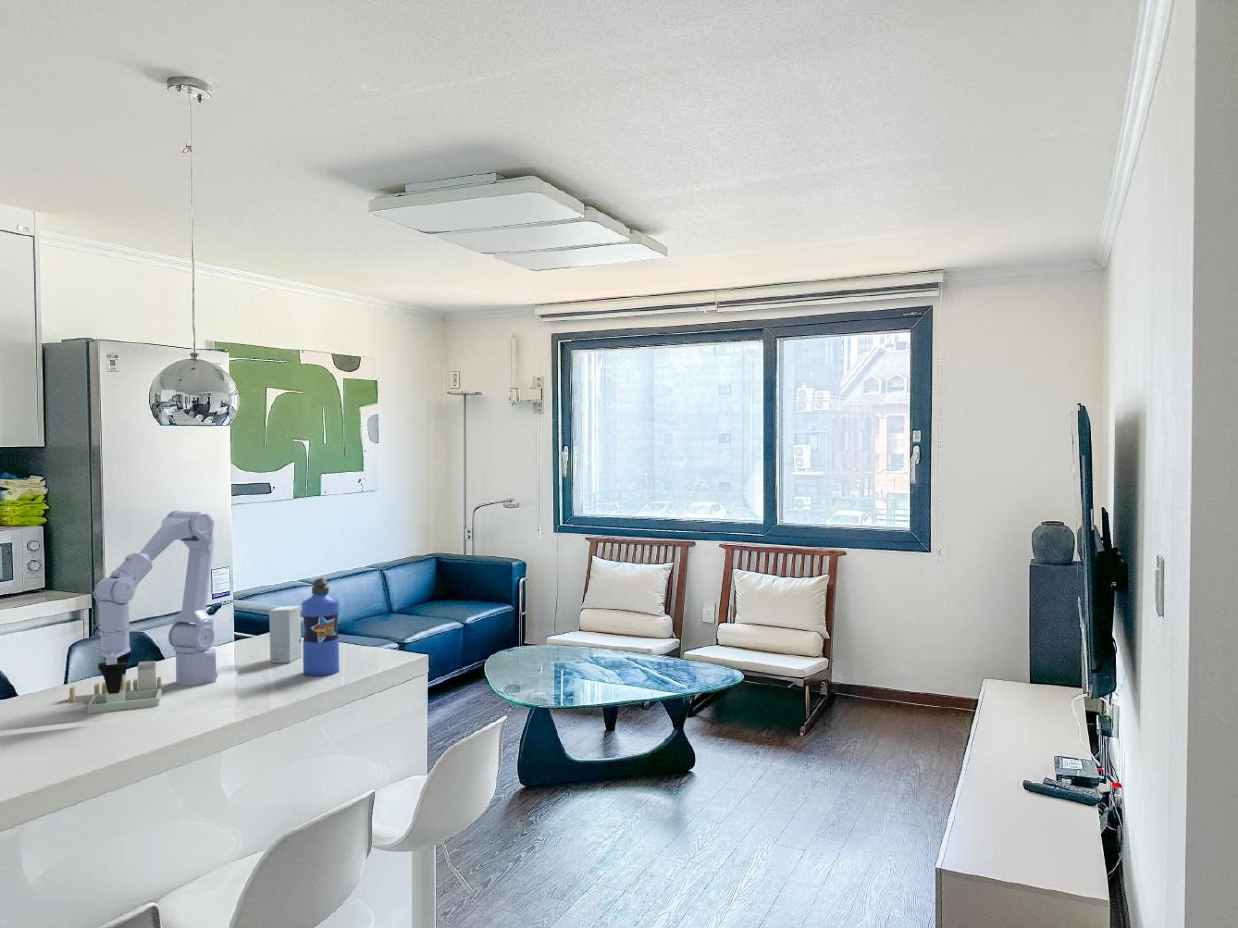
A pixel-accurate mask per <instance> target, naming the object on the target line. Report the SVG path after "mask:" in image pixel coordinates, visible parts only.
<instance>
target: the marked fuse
mask: <svg viewBox="0 0 1238 928" xmlns="http://www.w3.org/2000/svg"><path fill="white" fill-rule="evenodd" d="M125 679H126V675H125V674H123V675H122V681H121V688H120V692H119V693H116V694H108V691H107V687H106V702H105V703H111V702H121V701H126V700H125ZM105 686H106V685H105Z"/></svg>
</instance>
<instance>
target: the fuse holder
mask: <svg viewBox="0 0 1238 928" xmlns="http://www.w3.org/2000/svg"><path fill="white" fill-rule="evenodd" d="M105 685H106V683H105V681H103V682H102V684H101V688H100V682H96V683H95V685H93V686H94V693H91V694H90V693H89V694H83V695H82V694H81V695H76V685H75V684H72V685H71V686H70V687H69V696H68V699H67V700H66V701H65V703H64V704H65V705H67V704H75V703H84V702H90V701H91V699H92V697H93V696H94V695H101V694H106V686H105ZM131 685H132V688H131ZM160 688H162V695H163V693H164V690H165V686H163V687H162V676H156V689H160ZM100 689H101V693H100ZM131 691H138V678H135V679H133V681H132V682H131V679H126V692H131Z"/></svg>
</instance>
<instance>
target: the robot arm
mask: <svg viewBox="0 0 1238 928" xmlns="http://www.w3.org/2000/svg"><path fill="white" fill-rule="evenodd" d="M214 525H215V521H214V519H213V518H212V517H211V516H210V514H208V512H206V511H204V510H201V511H199V510H198V511H180V510H172V511H171V512H169V513H168V514H167V516H166V517H164V518H162V521H161V526H160V528H159V529H158V530H157V531H156V532H155V534H154V535H153V536H152V537H151V538H150V539H149V540H148V542H147V543H146V545H144V547H143V548H142V549H141V550H140V552H133V553H131V554H128V555H126V556H125V557H124V561H123V562H122V563H121V564H120V565H118V567H117V568H116V569H115V570H113V571H112V572H111V573H110V575H109V577H103V578H102V579H100V581H99V582H98V583H97V584H95V585H96V586H95V588H94V590H93V591H92V595H93V598H94V599H95V600H96V602H97V609H99V624H100V625H99V630H100V649H96V650H95V651H94V655H96V656H97V655H100V656H102V657H103V658H104V661H105V662H99V663H98V665H97V668H98V670H99V671H100V672H101V674H102V676H103V679H104V682H105V683H106V687H107V691H108V694H116V693H119V692H120V688H121V681H122V675H123V674H125V676H126V674H127V668H128V664H129V661H130V658H131V657H132V654H133V651H131V646H130V617H129V616H130V613H129V611H130V609H129V608H130V607H129V606H130V605H129V601H131V600H133V598H134V596H135V593H136V589H137V587H138V585H139V583H141V581H142V580H143V579H145V577H146V576H147V575H148V574H149V573H150V572H151V571H152V569H153V561H154V560H156V558H157V557H158V556H160V554H162V553H163V552H164V551H165V550H166V549H167V548H168V547H170V545H172V544H173V542H175V541H177V540H179V541H181V542H182V543H183V544H184V545H185V546H186V547H187V548H188V558H187V566H186V573H185V574H186V575H185V581H184V590H183V597H182V606H181V611H180V612H179V613H178V614H177V615H175V617H174V618H173V621H172V625H171V627H170V628H169V631H168V635H167V639H168V640H167V641H168V643H169V645H170V646H171V647H173V651H174V652H175V684H176V685H177V686H195V685H201V684H209V683H210V684H211V683H216V682H217V678H218V669H217V649H216V648H210V647H211V646H212V645H213V643H214V641H215V630H214V619H213V618H212V617H211V616H210V615H209V614H208V613H207V602H208V595H209V587H210V578H211V569H212V561H213V555H214V554H213V552H214V546H215V545H214V544H215V541H214V535H213V534H214V527H215V526H214Z"/></svg>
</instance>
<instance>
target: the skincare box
mask: <svg viewBox="0 0 1238 928" xmlns="http://www.w3.org/2000/svg"><path fill="white" fill-rule="evenodd" d="M268 614H269V617H268V618H269V619H268V620H269V654H270V658H269V659H270V663H273V664H274V663H280V664H290V663H292V662H293V661H295V660H298V658H301V657H303V652H302V627H301V626H302V624H301V623H302V621H301V605H285V606H278V607H275V608H272V609H270V610H269V613H268Z"/></svg>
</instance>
